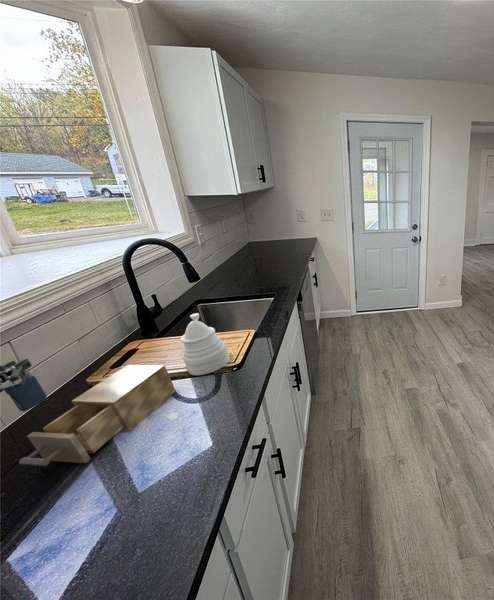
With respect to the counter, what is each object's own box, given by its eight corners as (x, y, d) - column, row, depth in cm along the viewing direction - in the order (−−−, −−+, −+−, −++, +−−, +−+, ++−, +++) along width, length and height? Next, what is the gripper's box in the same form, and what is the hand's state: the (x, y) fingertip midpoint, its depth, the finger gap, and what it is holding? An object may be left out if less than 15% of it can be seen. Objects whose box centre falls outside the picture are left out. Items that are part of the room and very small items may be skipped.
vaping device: (15, 411, 74) (-13, 369, 69) (43, 396, 78) (18, 356, 73) (23, 413, 73) (-6, 371, 68) (50, 397, 78) (26, 357, 73)
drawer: (64, 481, 68) (45, 455, 65) (21, 478, 69) (0, 453, 66) (140, 416, 85) (128, 393, 82) (104, 415, 86) (91, 392, 83)
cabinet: (130, 431, 81) (113, 402, 77) (88, 429, 83) (71, 401, 79) (176, 391, 95) (164, 365, 92) (140, 390, 97) (127, 364, 93)
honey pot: (197, 356, 113) (179, 312, 106) (234, 350, 115) (219, 306, 108) (181, 378, 101) (160, 329, 94) (222, 371, 103) (205, 323, 96)
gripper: (-91, 437, 59) (-4, 381, 75) (-4, 420, 62) (63, 370, 77) (-120, 405, 56) (-23, 355, 72) (-27, 390, 59) (47, 344, 74)
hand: (21, 363), depth 74 cm, fingers closed on vaping device, 2 cm apart
